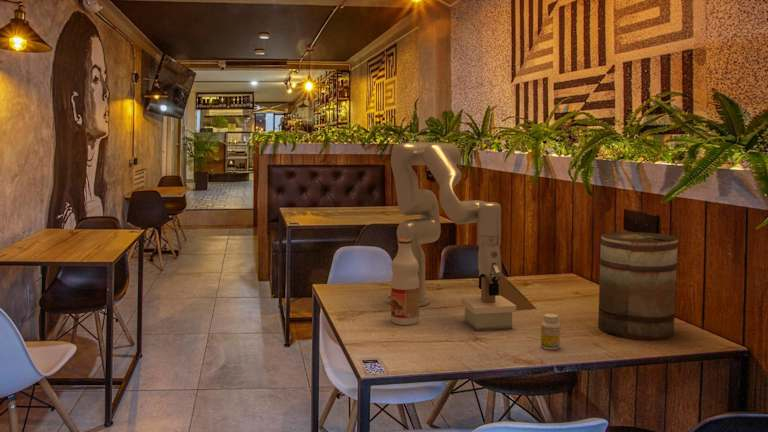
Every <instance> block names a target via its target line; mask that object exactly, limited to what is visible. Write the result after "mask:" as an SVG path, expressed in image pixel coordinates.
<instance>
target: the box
mask: <svg viewBox="0 0 768 432" xmlns="http://www.w3.org/2000/svg"><path fill="white" fill-rule="evenodd" d="M464 322H466V323H467V325H469V326H470V327H471V328H472V329H474V330H475V332H480V331H481V332H482V331H498V330H511V329H513V312H505V313H487V314H474V313H472V312H471V311H470V310H469V309H467V308H466V307H465V306H464Z"/></svg>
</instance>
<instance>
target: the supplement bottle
mask: <svg viewBox="0 0 768 432" xmlns="http://www.w3.org/2000/svg"><path fill="white" fill-rule="evenodd" d="M540 329H541V334H540V335H541V337H540V346H541V348H542V349H544V350H549V351H554V350H559V349H560V345H561V324H560V322H559V315H557V314H555V313H545V314H544V315H543V321H542V322H541V328H540Z"/></svg>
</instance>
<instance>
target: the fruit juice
mask: <svg viewBox="0 0 768 432" xmlns="http://www.w3.org/2000/svg"><path fill="white" fill-rule="evenodd" d="M411 245H412V239H398V238H397V246H398V248H397V253H396V255H395V257H394V258H393V260H392V261H391V271H392V277H391V279H390V293H391V298H390V310H391V311H390V313H391V314H390V316H391V317H390V320H391V323H393V324H395V325H398V326H411V325H416V324H418V323H419V320H420V306H419V279H418V276H417V272H418V268H419V265H418V261H417V260H416V258H415V257H414V255H413V253H412V249H411Z"/></svg>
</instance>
